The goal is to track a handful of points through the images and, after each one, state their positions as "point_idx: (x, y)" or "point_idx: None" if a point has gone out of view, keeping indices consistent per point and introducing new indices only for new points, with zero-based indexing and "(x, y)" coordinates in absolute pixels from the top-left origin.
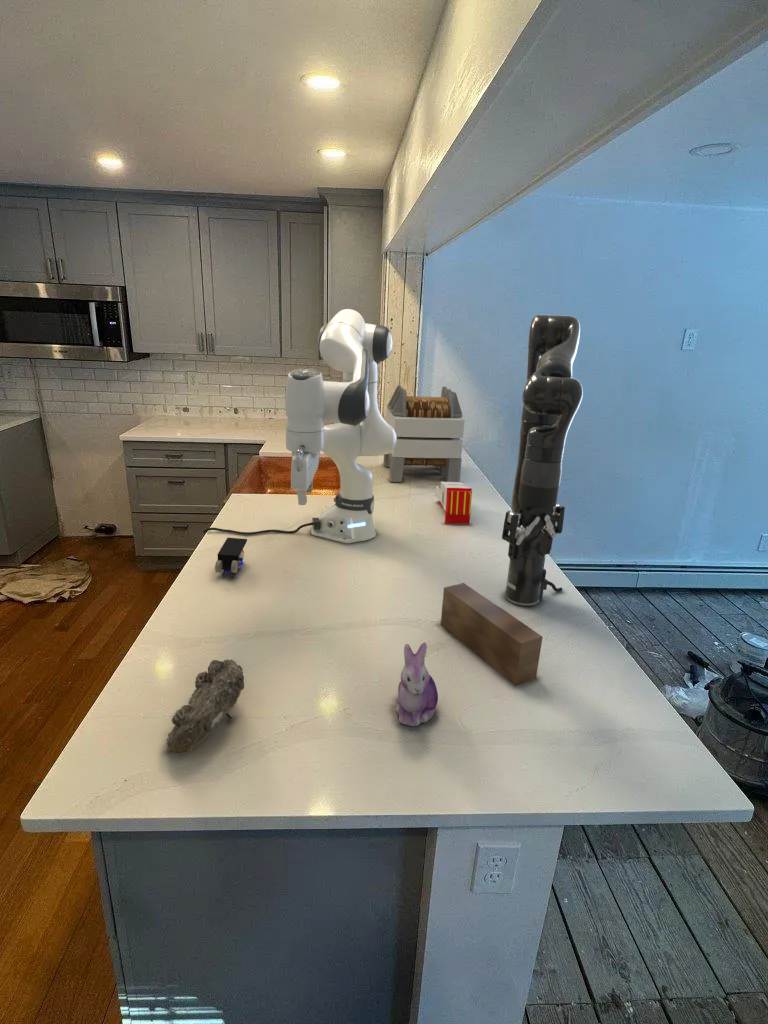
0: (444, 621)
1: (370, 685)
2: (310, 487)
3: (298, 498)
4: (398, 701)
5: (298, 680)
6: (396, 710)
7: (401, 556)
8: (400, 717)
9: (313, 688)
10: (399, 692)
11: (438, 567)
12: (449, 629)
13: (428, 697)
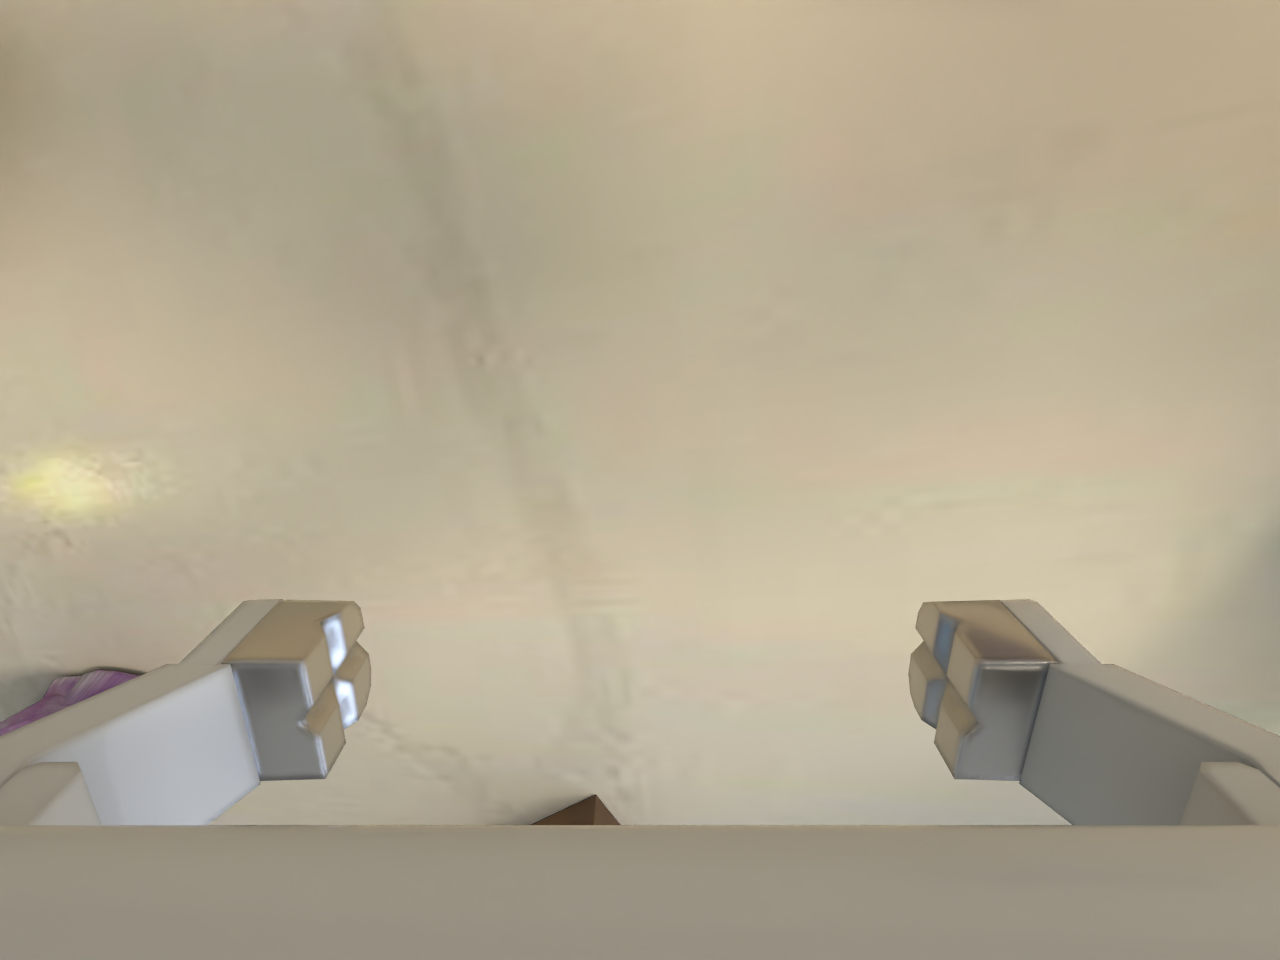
0: (577, 821)
1: (200, 598)
2: (945, 740)
3: (187, 659)
4: (23, 710)
5: (149, 369)
6: (90, 673)
7: (1180, 689)
8: (50, 686)
9: (124, 427)
10: (2, 732)
11: (1045, 813)
12: (552, 821)
13: None
